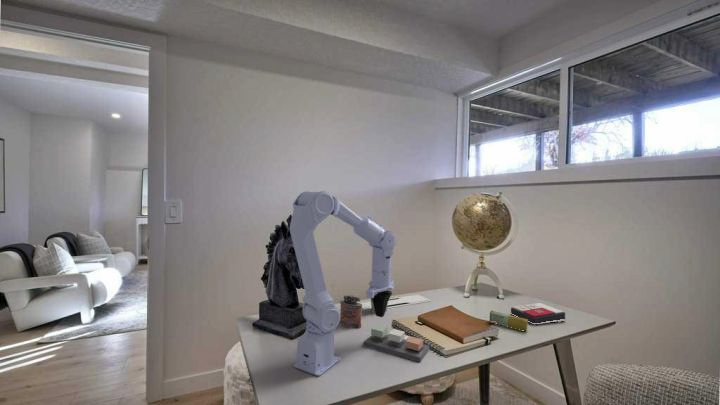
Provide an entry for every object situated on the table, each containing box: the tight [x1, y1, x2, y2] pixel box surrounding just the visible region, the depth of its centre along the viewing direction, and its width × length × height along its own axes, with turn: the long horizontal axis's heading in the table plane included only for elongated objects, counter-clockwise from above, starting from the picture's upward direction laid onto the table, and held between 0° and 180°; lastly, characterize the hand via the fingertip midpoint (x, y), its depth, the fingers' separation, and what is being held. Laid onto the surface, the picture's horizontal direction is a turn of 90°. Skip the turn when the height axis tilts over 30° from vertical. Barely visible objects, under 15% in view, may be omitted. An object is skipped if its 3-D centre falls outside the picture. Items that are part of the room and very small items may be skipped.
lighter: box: [339, 294, 363, 329], centre depth 104 cm, size 8×3×10 cm, turn 62°
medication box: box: [489, 310, 529, 332], centre depth 107 cm, size 12×3×4 cm, turn 52°
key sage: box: [370, 324, 389, 338], centre depth 91 cm, size 4×4×2 cm
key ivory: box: [387, 328, 406, 343], centre depth 88 cm, size 4×4×2 cm
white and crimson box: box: [510, 302, 566, 323], centre depth 116 cm, size 11×4×15 cm
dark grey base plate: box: [363, 333, 430, 363], centre depth 88 cm, size 8×17×1 cm, turn 60°
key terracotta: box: [406, 336, 424, 351], centre depth 86 cm, size 4×4×2 cm
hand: (379, 315), depth 91 cm, fingers closed
